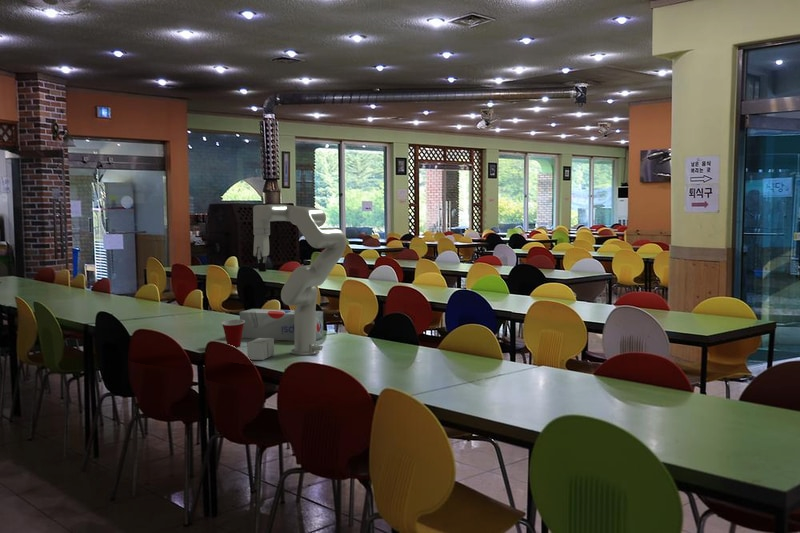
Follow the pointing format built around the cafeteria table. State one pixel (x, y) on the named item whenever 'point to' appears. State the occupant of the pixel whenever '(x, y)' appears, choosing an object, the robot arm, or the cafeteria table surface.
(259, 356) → the supplement box
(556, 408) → the cafeteria table surface
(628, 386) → the cafeteria table surface
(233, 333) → the plastic cup
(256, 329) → the soda pack
